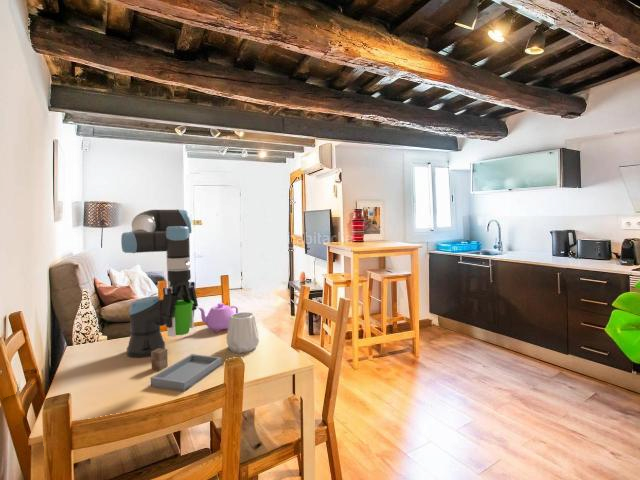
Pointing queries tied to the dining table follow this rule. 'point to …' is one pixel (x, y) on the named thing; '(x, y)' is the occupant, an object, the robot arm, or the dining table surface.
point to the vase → (242, 332)
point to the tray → (186, 372)
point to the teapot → (218, 317)
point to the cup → (182, 317)
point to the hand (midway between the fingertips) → (181, 331)
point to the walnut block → (159, 359)
